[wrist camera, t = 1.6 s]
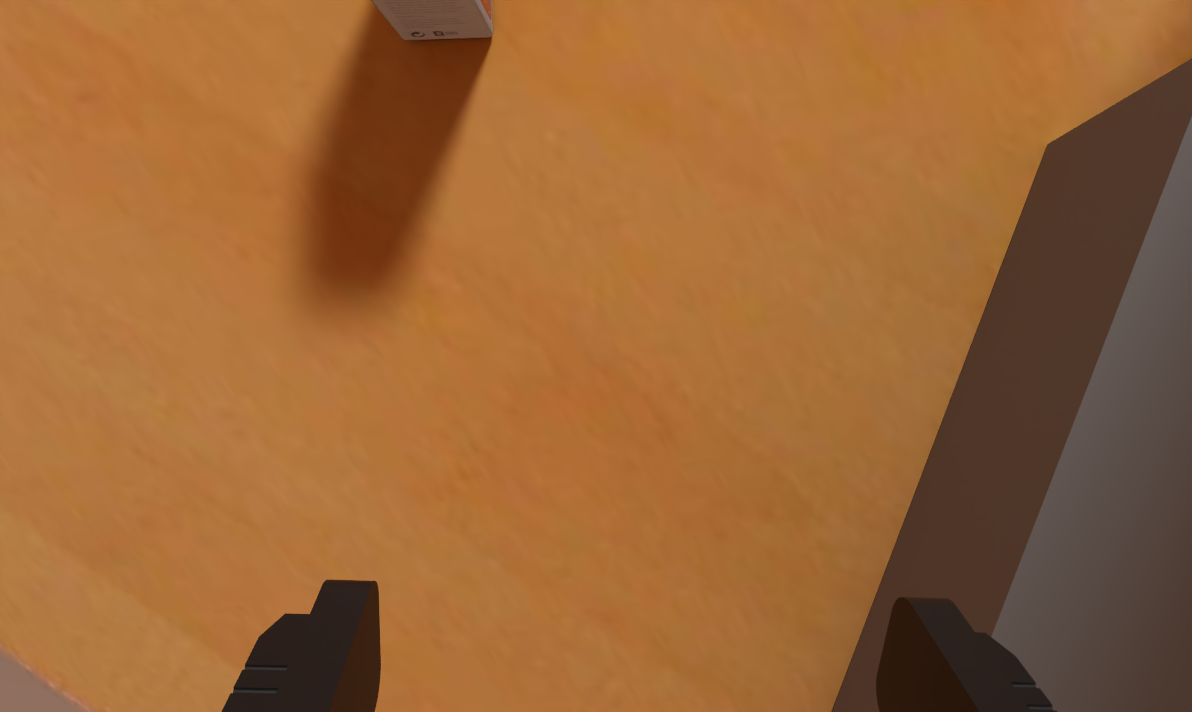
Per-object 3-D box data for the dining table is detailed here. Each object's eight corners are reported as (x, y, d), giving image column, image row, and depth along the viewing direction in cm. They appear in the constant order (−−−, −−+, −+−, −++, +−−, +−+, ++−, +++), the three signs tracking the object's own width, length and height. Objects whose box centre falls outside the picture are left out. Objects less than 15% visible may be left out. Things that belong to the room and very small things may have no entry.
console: (1047, 144, 34) (1220, 41, 24) (1241, 207, 34) (1513, 132, 23) (810, 768, 35) (870, 951, 24) (995, 844, 34) (1143, 1068, 23)
